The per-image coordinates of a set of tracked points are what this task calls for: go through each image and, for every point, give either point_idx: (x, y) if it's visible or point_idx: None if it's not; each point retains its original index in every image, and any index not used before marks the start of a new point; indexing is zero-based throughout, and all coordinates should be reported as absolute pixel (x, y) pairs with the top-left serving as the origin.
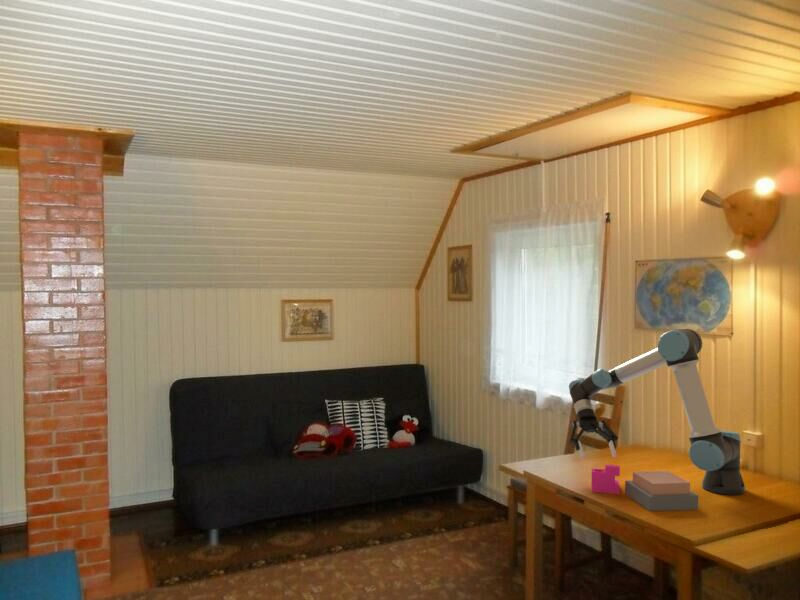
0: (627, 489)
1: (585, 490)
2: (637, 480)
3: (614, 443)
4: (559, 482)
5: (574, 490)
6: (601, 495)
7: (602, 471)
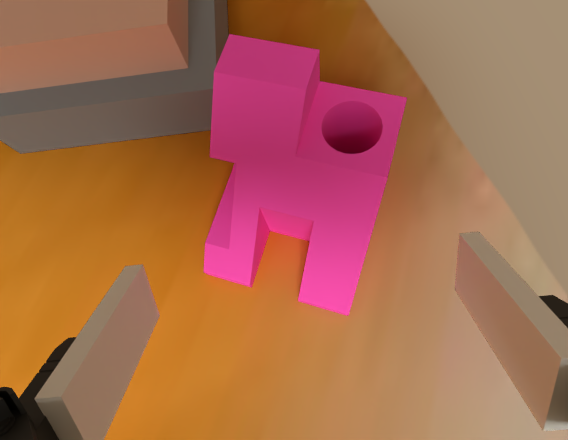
0: None
1: (416, 170)
2: (179, 3)
3: (35, 386)
4: None
5: (477, 168)
6: None
7: (331, 107)
